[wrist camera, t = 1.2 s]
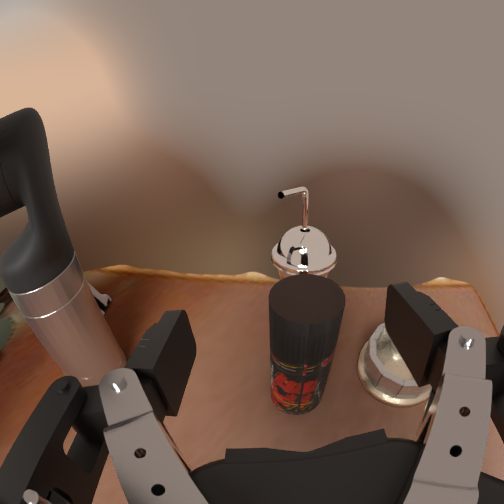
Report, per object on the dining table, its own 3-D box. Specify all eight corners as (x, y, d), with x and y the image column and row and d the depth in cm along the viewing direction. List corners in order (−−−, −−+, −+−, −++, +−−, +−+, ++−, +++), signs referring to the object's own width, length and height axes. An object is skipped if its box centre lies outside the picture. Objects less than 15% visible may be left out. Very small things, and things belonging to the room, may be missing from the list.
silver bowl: (355, 405, 26) (363, 390, 24) (357, 331, 36) (363, 312, 34) (444, 405, 23) (458, 389, 21) (432, 335, 32) (441, 317, 30)
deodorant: (262, 384, 30) (255, 287, 22) (305, 365, 32) (316, 266, 24) (286, 422, 25) (293, 336, 17) (331, 399, 27) (360, 305, 19)
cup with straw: (340, 318, 38) (359, 184, 28) (287, 343, 35) (290, 198, 25) (308, 287, 45) (313, 167, 34) (259, 306, 42) (251, 177, 31)
